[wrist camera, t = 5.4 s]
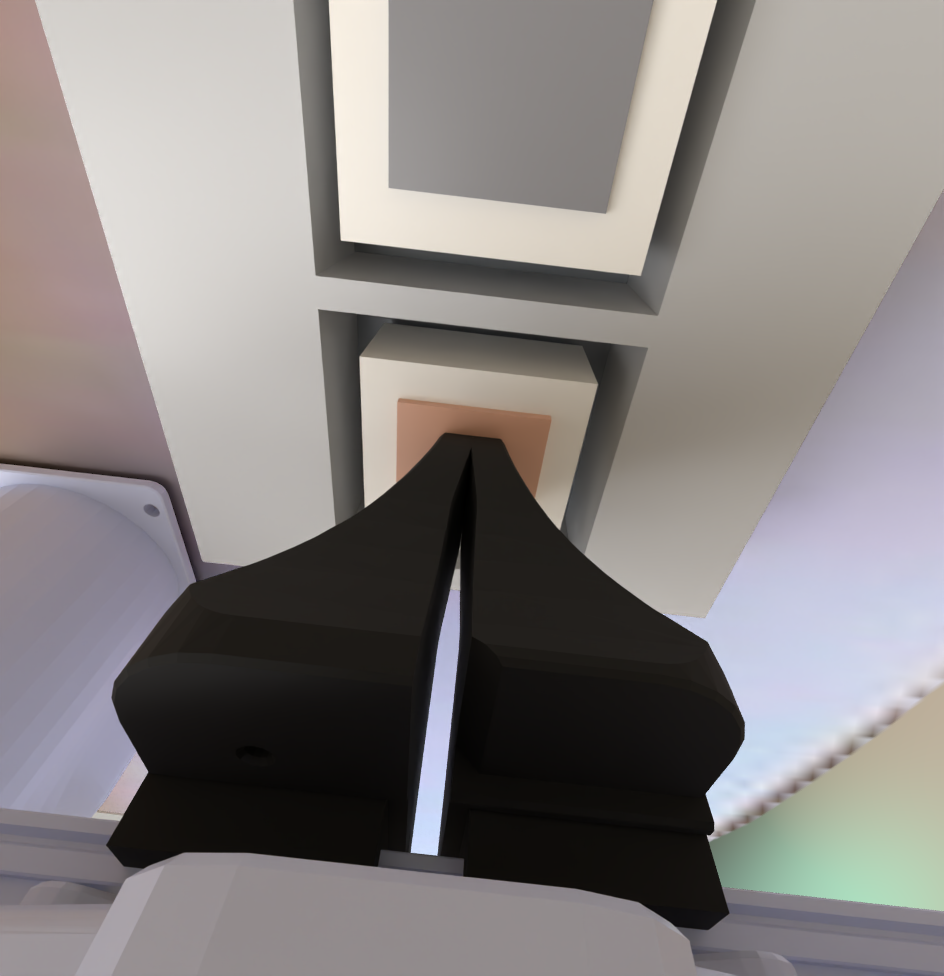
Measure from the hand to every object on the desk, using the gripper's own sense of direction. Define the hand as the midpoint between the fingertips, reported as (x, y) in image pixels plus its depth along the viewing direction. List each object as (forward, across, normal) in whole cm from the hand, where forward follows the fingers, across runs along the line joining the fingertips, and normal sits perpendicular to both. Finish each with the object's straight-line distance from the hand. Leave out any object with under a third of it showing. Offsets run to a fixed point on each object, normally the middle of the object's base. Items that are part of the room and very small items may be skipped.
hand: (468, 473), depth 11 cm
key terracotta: (+3, 0, 0) cm, 3 cm away
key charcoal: (+2, 0, -7) cm, 7 cm away
